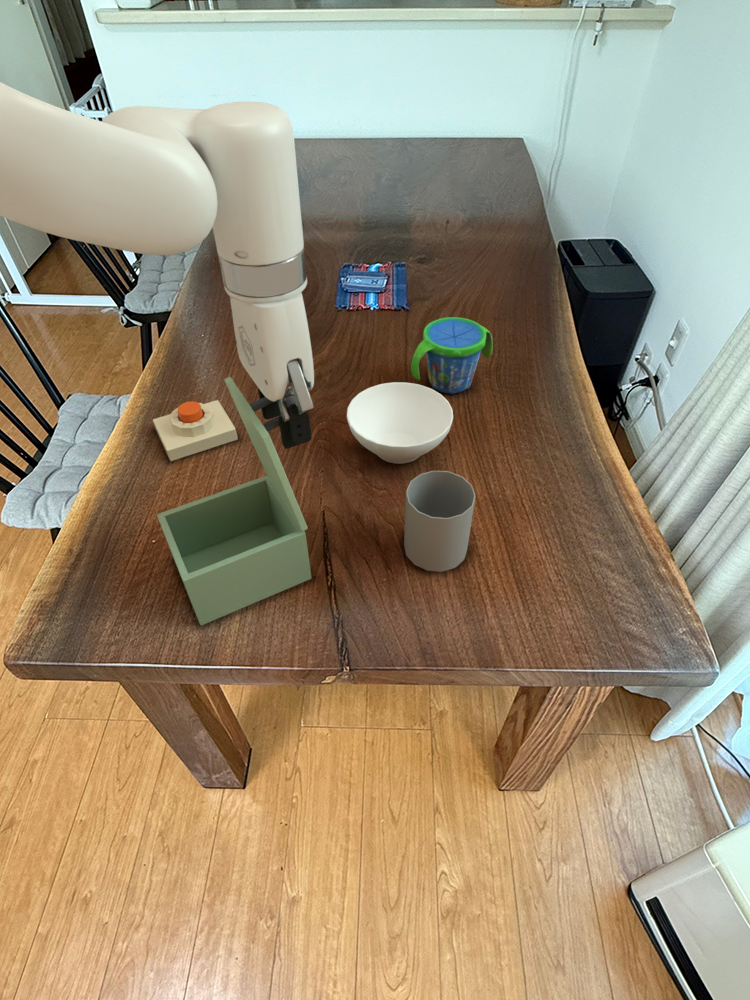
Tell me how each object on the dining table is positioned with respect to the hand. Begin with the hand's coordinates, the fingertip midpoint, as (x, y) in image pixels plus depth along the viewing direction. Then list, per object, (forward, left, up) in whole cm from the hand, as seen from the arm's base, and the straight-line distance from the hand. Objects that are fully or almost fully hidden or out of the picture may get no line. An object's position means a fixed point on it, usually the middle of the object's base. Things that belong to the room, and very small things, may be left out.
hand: (286, 427), depth 66 cm
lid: (-3, 0, -3) cm, 4 cm away
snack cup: (+38, +22, -20) cm, 49 cm away
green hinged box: (-9, 0, -20) cm, 22 cm away
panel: (-6, +30, -20) cm, 36 cm away
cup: (+15, -9, -20) cm, 27 cm away
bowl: (+21, +11, -20) cm, 31 cm away
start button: (-6, +30, -16) cm, 35 cm away
